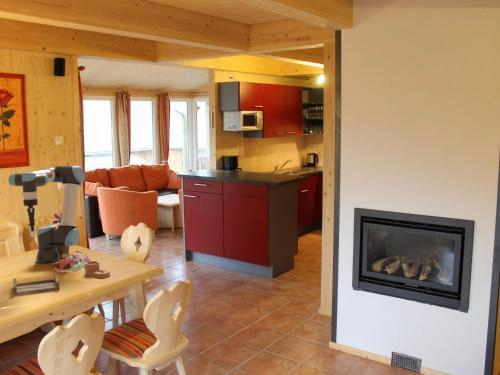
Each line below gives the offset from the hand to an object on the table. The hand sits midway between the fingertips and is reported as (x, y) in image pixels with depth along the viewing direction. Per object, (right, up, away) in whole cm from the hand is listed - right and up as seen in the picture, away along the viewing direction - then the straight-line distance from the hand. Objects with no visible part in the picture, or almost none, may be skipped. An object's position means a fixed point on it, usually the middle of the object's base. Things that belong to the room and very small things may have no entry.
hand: (32, 234), depth 292 cm
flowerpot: (-4, -20, +56) cm, 60 cm away
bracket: (+35, -26, +10) cm, 45 cm away
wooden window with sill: (+9, -29, -15) cm, 33 cm away
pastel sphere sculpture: (+14, -24, +28) cm, 39 cm away
